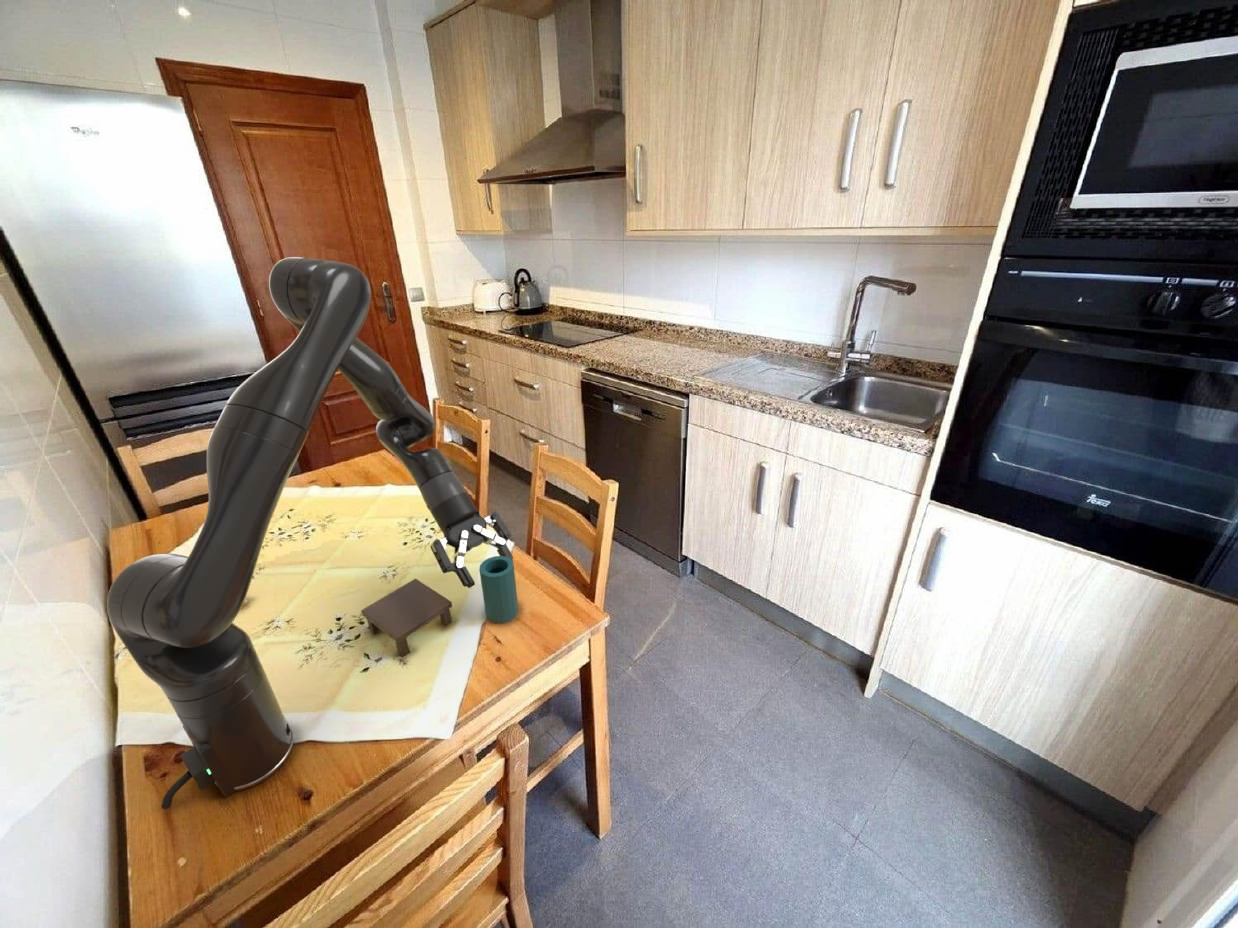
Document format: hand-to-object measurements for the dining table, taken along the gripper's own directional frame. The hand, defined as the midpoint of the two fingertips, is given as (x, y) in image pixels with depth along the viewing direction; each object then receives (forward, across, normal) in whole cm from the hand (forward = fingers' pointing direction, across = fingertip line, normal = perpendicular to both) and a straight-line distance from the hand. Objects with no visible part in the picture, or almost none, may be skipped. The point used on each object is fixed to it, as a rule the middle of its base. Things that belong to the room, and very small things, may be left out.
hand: (491, 574), depth 93 cm
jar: (+7, 0, +4) cm, 8 cm away
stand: (0, -13, +11) cm, 17 cm away
